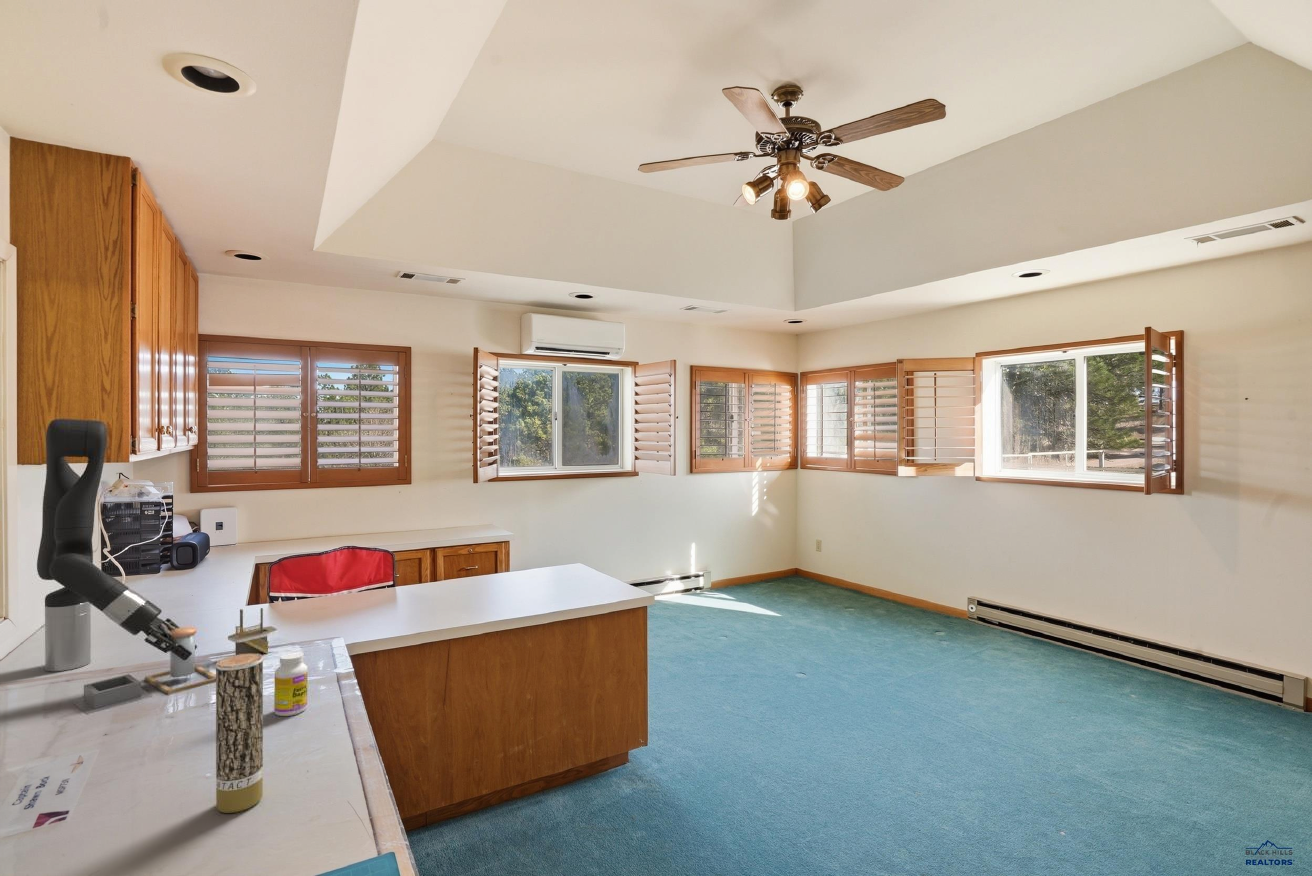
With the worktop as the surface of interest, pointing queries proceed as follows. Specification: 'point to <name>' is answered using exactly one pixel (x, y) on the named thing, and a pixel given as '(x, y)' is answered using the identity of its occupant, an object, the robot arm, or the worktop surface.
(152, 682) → the tray
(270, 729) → the worktop surface
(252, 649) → the architectural model
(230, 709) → the paper tube
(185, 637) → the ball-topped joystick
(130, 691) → the housing
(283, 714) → the supplement bottle
